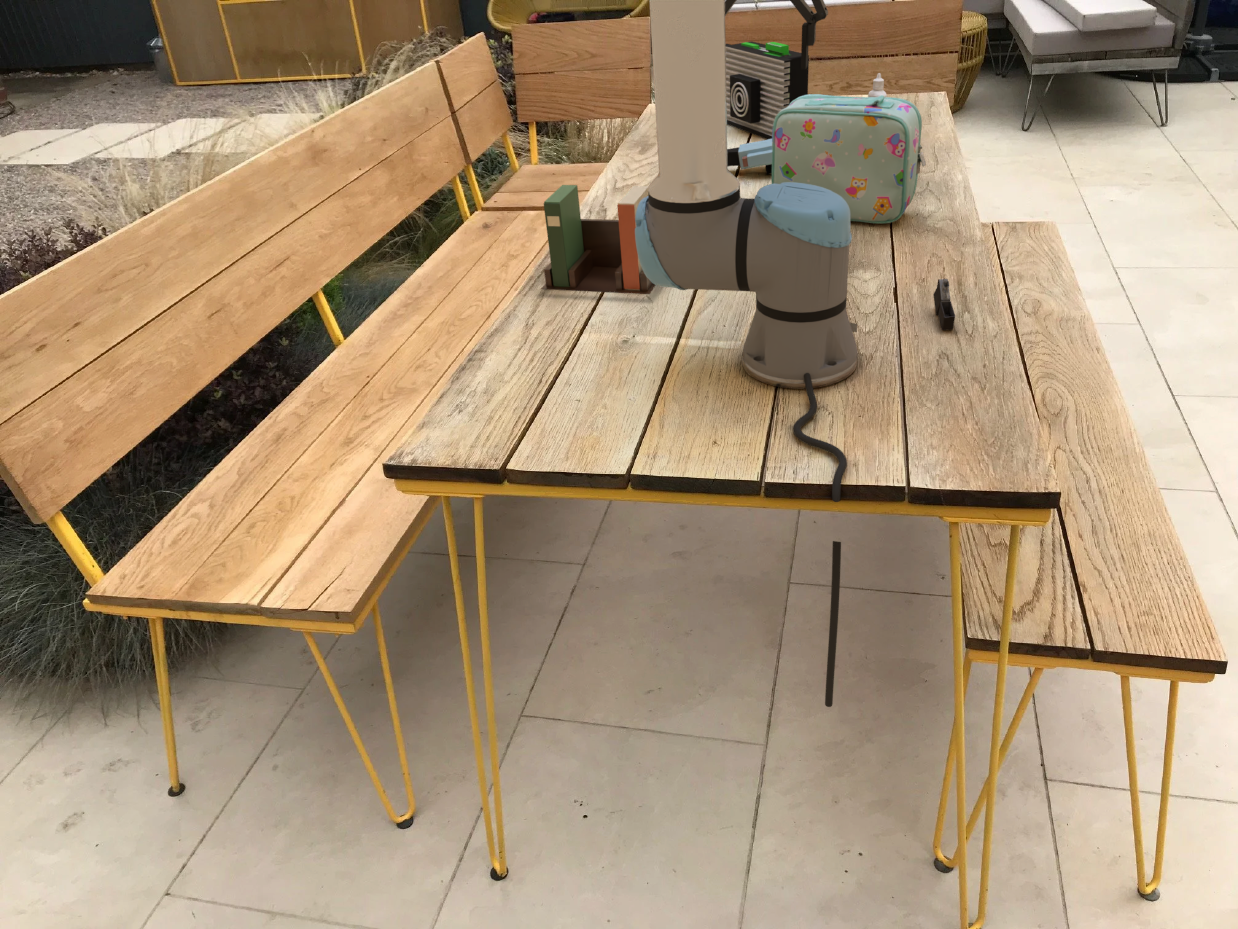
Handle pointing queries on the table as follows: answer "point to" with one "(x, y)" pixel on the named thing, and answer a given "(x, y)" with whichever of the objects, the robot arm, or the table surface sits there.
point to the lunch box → (852, 151)
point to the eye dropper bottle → (877, 87)
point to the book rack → (598, 262)
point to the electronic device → (761, 84)
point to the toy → (751, 155)
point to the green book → (563, 232)
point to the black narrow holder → (944, 305)
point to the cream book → (630, 236)
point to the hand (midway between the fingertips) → (762, 68)
